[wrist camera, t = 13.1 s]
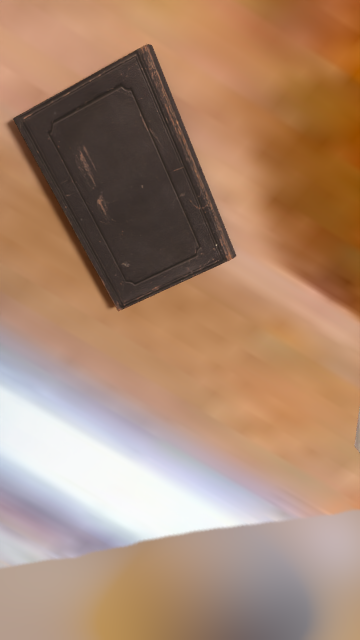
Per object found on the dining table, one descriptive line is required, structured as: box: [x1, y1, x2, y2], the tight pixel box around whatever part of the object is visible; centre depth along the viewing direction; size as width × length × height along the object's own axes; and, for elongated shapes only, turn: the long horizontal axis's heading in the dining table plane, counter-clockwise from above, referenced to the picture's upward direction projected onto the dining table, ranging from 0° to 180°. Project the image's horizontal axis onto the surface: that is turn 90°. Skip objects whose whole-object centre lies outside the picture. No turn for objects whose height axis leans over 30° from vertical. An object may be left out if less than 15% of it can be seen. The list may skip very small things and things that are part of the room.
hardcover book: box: [13, 44, 236, 311], centre depth 37 cm, size 16×23×2 cm
